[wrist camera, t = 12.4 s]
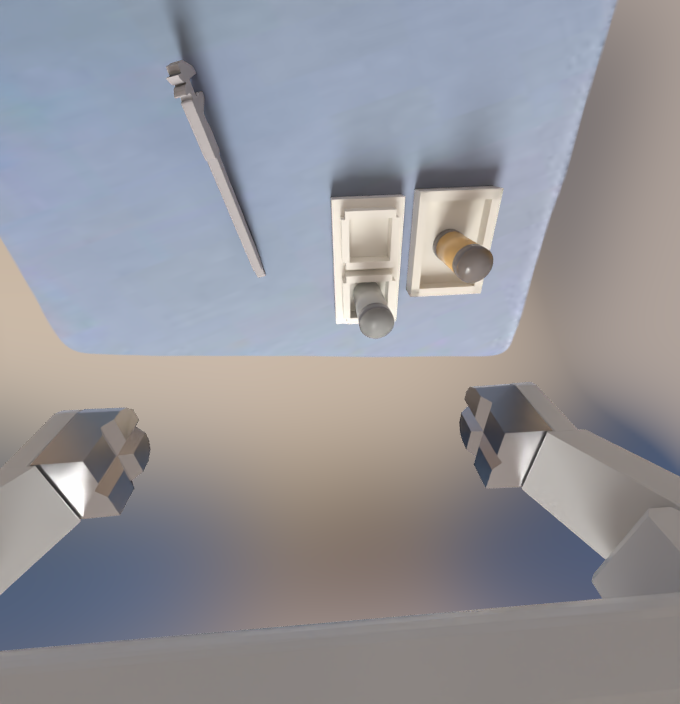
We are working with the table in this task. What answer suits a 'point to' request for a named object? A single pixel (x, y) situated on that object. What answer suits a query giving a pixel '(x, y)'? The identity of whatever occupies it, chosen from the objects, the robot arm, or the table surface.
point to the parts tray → (438, 215)
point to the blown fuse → (463, 255)
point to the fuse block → (367, 260)
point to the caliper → (211, 153)
